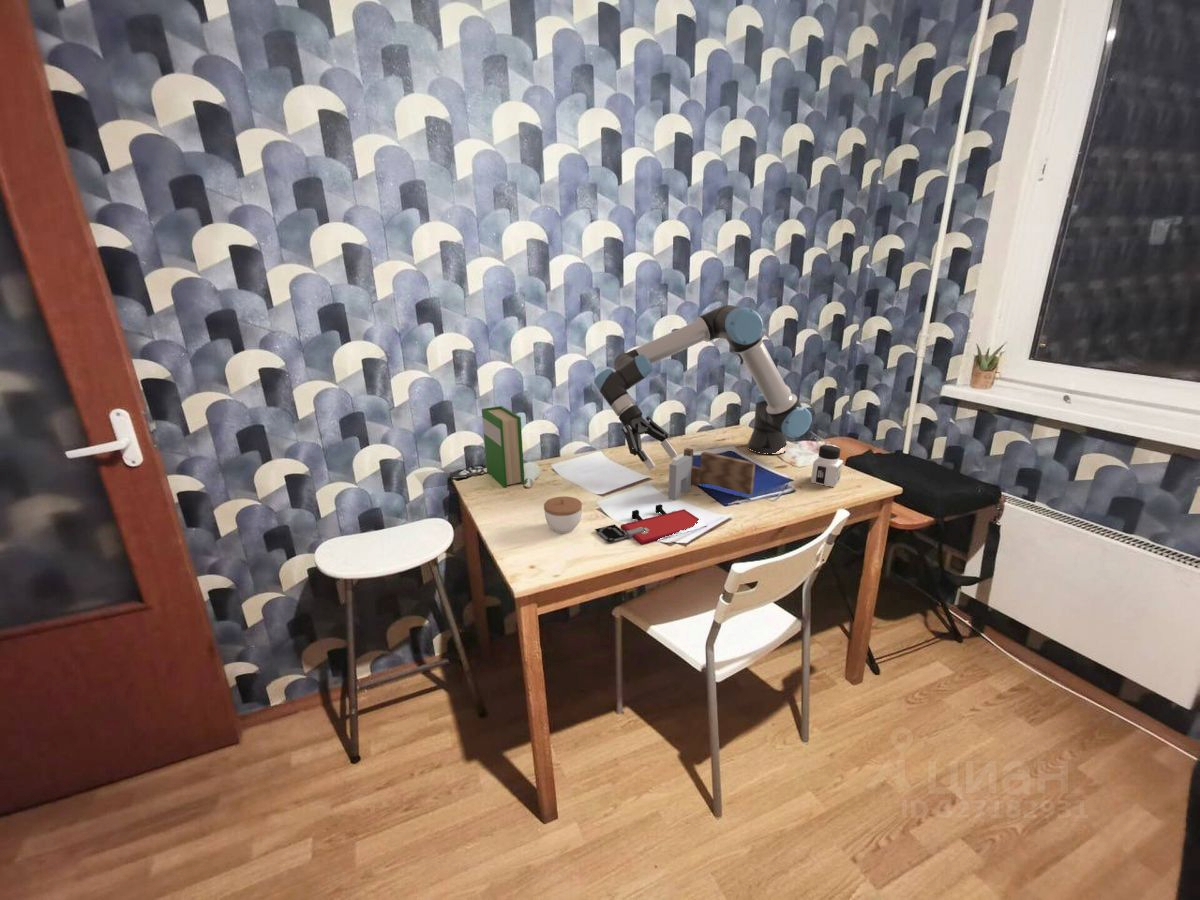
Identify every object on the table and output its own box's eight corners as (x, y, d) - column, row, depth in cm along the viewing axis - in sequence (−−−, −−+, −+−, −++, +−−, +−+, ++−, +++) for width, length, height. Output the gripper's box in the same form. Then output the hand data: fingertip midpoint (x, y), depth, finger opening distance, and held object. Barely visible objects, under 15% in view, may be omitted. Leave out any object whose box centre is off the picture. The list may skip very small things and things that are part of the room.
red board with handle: (591, 529, 153) (617, 553, 140) (591, 520, 152) (617, 544, 139) (676, 508, 166) (707, 528, 154) (677, 500, 165) (708, 520, 153)
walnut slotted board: (682, 482, 185) (684, 449, 181) (685, 480, 186) (686, 447, 182) (749, 499, 170) (753, 464, 167) (752, 497, 172) (755, 462, 168)
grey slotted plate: (668, 498, 172) (669, 464, 168) (683, 488, 179) (685, 455, 175) (675, 500, 170) (676, 465, 166) (690, 490, 178) (692, 456, 174)
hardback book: (524, 483, 185) (520, 417, 177) (504, 488, 181) (499, 420, 173) (506, 468, 199) (501, 406, 191) (487, 472, 196) (481, 408, 188)
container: (833, 488, 179) (839, 451, 174) (810, 482, 183) (815, 447, 179) (840, 481, 184) (845, 445, 180) (817, 476, 189) (821, 441, 185)
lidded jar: (537, 528, 153) (535, 498, 150) (565, 516, 160) (564, 488, 157) (561, 541, 146) (560, 510, 143) (590, 528, 153) (589, 498, 150)
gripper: (641, 409, 190) (676, 457, 186) (597, 425, 171) (635, 479, 167) (654, 397, 185) (690, 446, 181) (610, 412, 166) (649, 467, 163)
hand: (664, 462), depth 174 cm, fingers open, 13 cm apart
